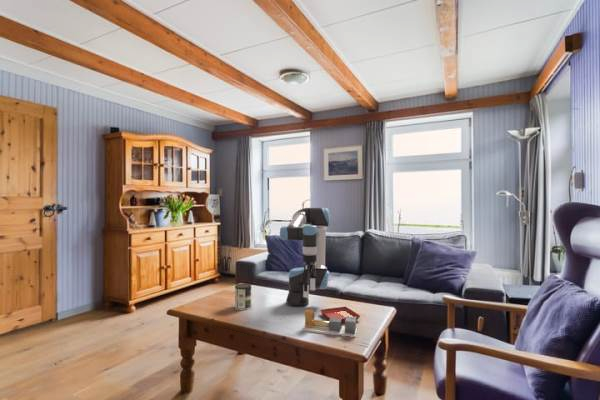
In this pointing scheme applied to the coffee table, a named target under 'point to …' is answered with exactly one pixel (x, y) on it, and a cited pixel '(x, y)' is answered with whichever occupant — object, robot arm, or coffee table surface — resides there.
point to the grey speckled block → (335, 324)
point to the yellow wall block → (311, 322)
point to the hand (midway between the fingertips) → (309, 293)
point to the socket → (350, 325)
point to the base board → (326, 331)
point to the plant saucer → (331, 313)
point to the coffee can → (242, 296)
